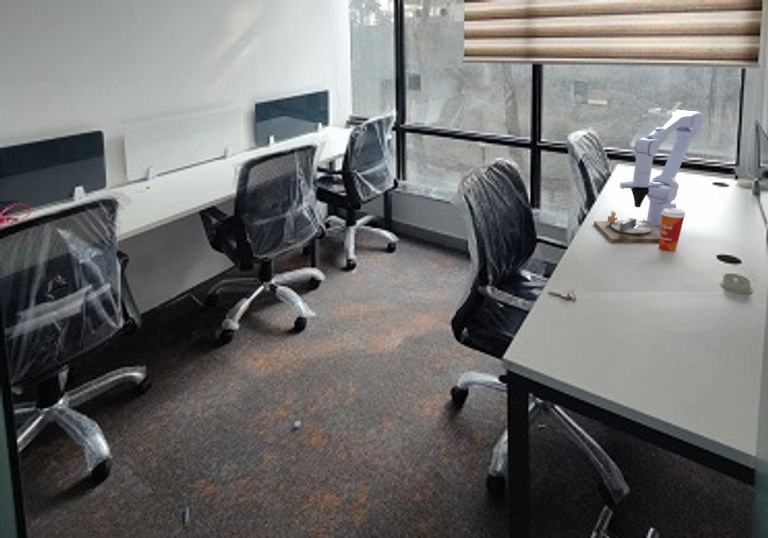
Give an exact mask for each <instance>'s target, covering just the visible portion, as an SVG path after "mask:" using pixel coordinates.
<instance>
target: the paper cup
mask: <svg viewBox="0 0 768 538" xmlns="http://www.w3.org/2000/svg"><path fill="white" fill-rule="evenodd" d="M661 214H662V219H661V225H660V229H659V230H660V238H659V243H658V249H659V250H660V251H664V252H668V253H669V252H675V251H676V250H677V246H678V243H679V240H680V235H681V232H682V227H683V223H684V220H685V219H684V218H685V217H686V212H685V211H684V210H683V209H681V208H677V207H676V208H672V209H671V208H665V209H663V212H661Z"/></svg>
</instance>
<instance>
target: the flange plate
mask: <svg viewBox="0 0 768 538" xmlns="http://www.w3.org/2000/svg"><path fill="white" fill-rule="evenodd" d="M607 221H608V222H613V223H612V224H611V227H612V229H614V230H616V231H618V232H622V233H627V234H646V233H649V232H650V231H651V226H650V225H648V224H646V223H642V222H638V221H639V220H637V218H632V217H629V218H627V219H626V220H625V219H622V220H618V217H617V216H616V215H615V216H611V215H608V216H607Z"/></svg>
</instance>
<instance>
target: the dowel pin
mask: <svg viewBox="0 0 768 538" xmlns="http://www.w3.org/2000/svg"><path fill="white" fill-rule="evenodd" d="M616 215H617V212H616V211H613V210H612V211H611V214H610V216H615V217H616ZM612 223H613V222H610V225H611V224H612Z"/></svg>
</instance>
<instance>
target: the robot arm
mask: <svg viewBox="0 0 768 538" xmlns="http://www.w3.org/2000/svg"><path fill="white" fill-rule="evenodd" d="M702 124H703V115H702V113H701V112H700V111H692V110H691V111H690V110H681V109H675V110H673V112H671V115H670V118H669V120H668V121H667V122H665V123H664V125H663V126H662V127H661V126H659V127H658V126H657V127H655V129H654V130H653V131H651V132H650V133H649V134H648V135H646V136H645V137H641V138H639V139H637V140H636V142H635V144H634V146H633V150H634V158H635V162H634V163H635V165H634V172H633V179H632V181H624V182H622V181H621V182H620V185H619V188H620V189H622V190H624V189H631V192H632V196H633V200H634V207H636V208H641V206H642V203H643V201H644V199H645V198H646V196H647V199H648V201H649V205H648V211H647V217H645V218H643V219H642V221H649V222H650V223H651V224H652V225H654V226H661V219H662V214H661V212H663V209H665V208H671V209H672V208H676V209H677V204H676V201H674V200H675V199H676V197H677V195H678V194H677V193H678V191H679V187H680V186H679V184H678V182H677V180H676V177H677V174H678V172H679V169H680V168H681V165H682V163H683V160H684V158H685V156H686V154H687V152H688V150H689V147H690V145H691V143H692V140H693V138H695V137H697V135H698V133H699V131H700V129H701V127H702ZM672 133H674V134H675V135H677V138H676V140H675V142H674V145H673V147H672V149H671V152H670V154H669V156H668V159H667V161H666V162H665V165H664V167H663V169H662V172H661V174H660V175H658V176H655V177H653V178H652V181H650V180H651V175H652V167H653V162H654V161H653V160H654V156H655V155H656V154H657V152H658V150H659V149H660V147H661V146H662V144H664V143H665V142H666V141H667V140H668V138H669V135H670V134H672Z"/></svg>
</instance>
